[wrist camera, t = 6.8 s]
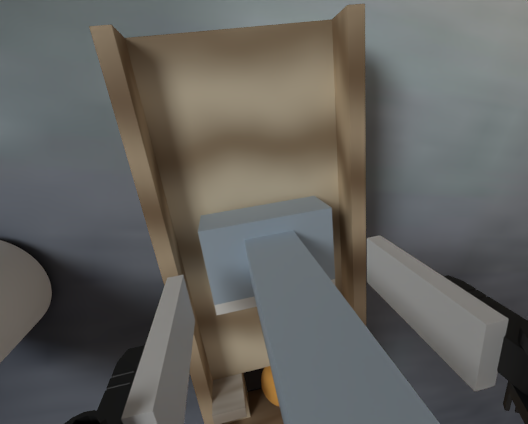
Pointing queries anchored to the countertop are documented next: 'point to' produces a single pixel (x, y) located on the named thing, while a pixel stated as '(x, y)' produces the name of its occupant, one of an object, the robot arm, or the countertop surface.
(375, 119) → the countertop surface
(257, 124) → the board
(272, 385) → the ball
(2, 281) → the beverage can
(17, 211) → the countertop surface
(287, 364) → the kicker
